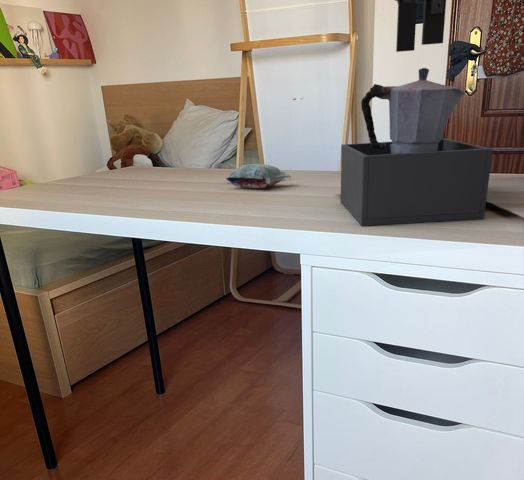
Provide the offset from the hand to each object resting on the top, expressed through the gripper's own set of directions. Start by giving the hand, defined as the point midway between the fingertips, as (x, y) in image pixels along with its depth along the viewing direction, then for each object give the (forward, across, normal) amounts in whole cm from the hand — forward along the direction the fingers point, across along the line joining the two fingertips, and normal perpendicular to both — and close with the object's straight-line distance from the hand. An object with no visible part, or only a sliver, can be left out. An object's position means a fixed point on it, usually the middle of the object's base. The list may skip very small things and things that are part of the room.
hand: (417, 48), depth 78 cm
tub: (+24, 0, -1) cm, 24 cm away
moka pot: (+23, 0, -1) cm, 23 cm away
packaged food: (+24, -33, -25) cm, 47 cm away
